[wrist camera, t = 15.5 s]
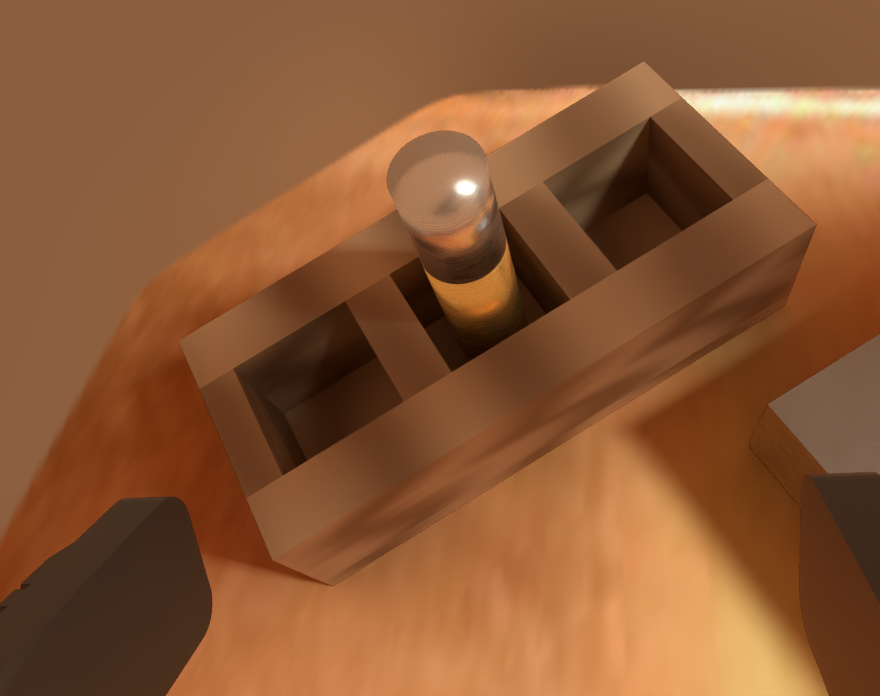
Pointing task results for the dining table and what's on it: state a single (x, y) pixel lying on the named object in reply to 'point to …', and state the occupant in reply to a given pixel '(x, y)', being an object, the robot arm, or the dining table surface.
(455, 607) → the dining table surface
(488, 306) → the gold clear cylinder
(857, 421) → the socket block
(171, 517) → the robot arm
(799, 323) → the dining table surface
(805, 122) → the dining table surface
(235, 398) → the vial rack
